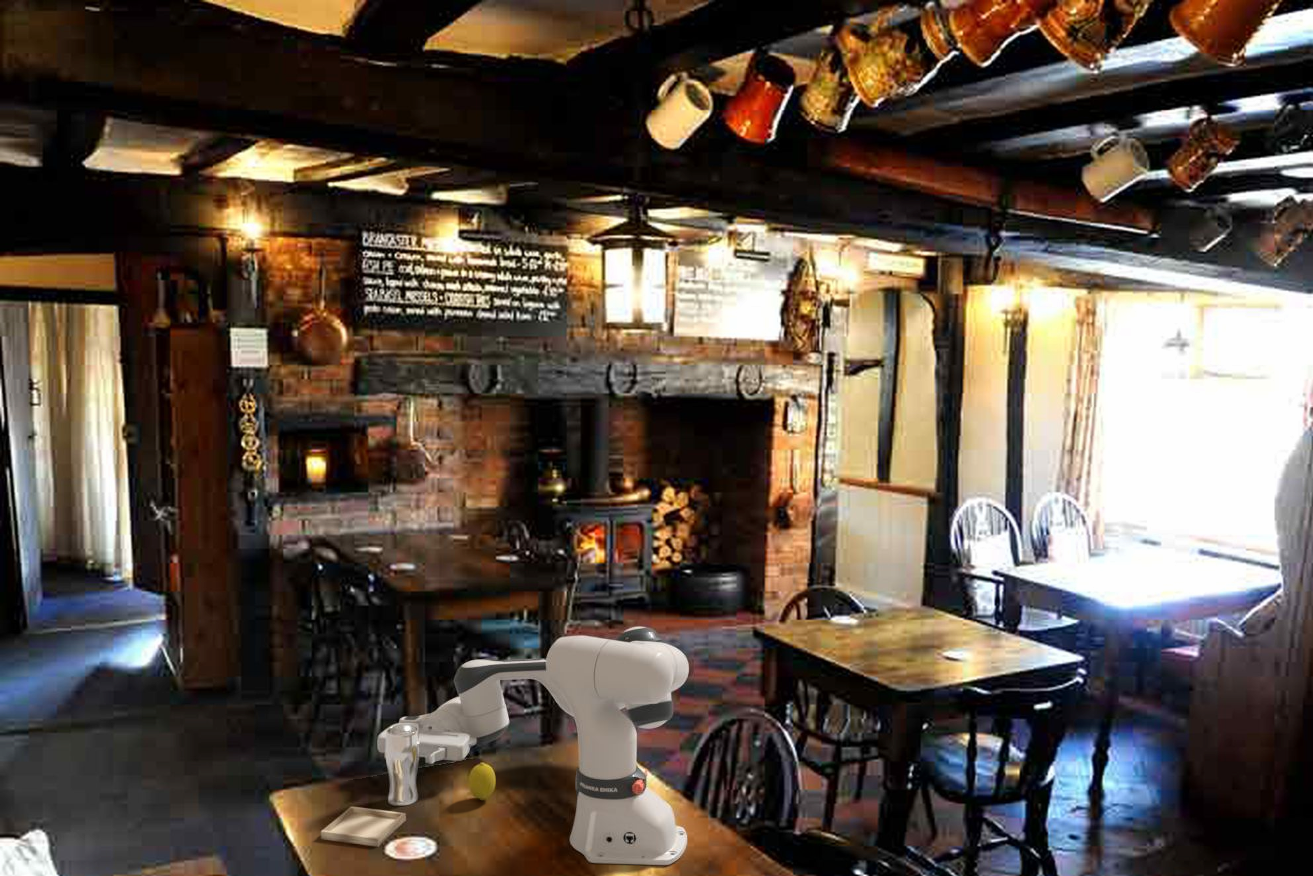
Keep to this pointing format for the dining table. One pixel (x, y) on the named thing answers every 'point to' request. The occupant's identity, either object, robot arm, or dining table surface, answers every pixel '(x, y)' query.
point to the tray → (363, 826)
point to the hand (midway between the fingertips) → (407, 757)
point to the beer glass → (402, 763)
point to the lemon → (482, 781)
